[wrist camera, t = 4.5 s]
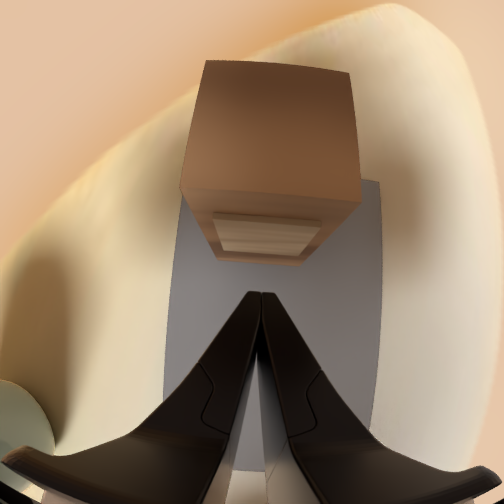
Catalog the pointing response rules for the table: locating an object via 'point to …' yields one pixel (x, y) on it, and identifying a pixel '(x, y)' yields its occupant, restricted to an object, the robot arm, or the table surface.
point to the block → (271, 160)
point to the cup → (21, 429)
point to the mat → (296, 304)
